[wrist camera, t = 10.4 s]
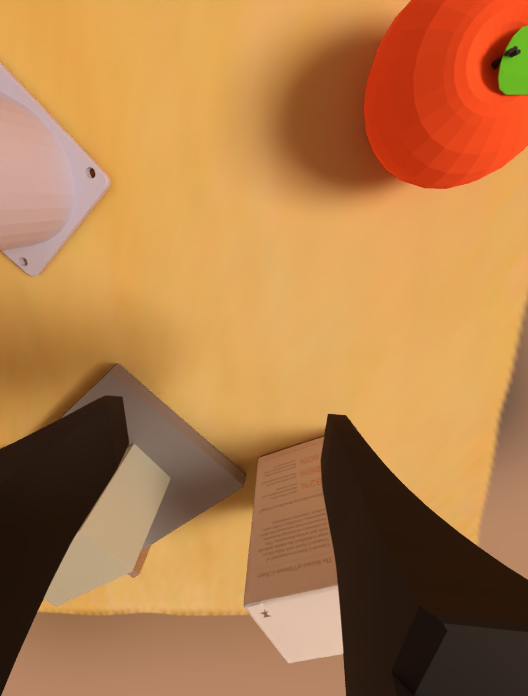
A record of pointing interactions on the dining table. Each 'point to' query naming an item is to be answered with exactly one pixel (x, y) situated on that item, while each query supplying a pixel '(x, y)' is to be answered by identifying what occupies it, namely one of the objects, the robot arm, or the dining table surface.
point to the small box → (293, 557)
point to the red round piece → (450, 91)
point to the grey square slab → (169, 455)
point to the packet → (112, 529)
